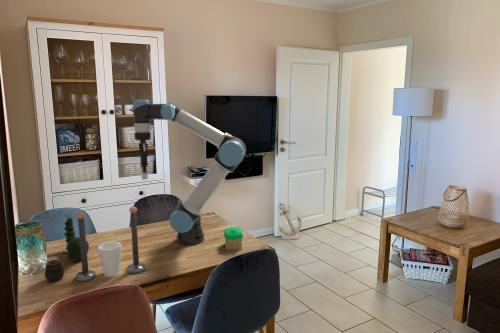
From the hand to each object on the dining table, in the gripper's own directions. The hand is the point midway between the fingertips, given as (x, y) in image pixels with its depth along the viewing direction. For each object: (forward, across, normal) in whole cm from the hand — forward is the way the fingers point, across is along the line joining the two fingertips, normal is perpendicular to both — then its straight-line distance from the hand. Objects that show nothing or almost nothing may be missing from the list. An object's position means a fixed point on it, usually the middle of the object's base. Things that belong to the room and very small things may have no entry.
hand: (144, 178), depth 189 cm
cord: (+35, +24, -8) cm, 43 cm away
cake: (+37, +14, +42) cm, 57 cm away
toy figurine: (+37, -2, -34) cm, 50 cm away
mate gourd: (+37, +21, -41) cm, 59 cm away
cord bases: (+36, +24, -18) cm, 47 cm away
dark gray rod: (+35, +24, -29) cm, 51 cm away
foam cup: (+37, +24, -18) cm, 47 cm away
